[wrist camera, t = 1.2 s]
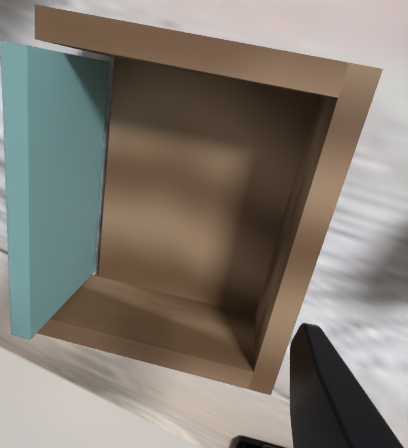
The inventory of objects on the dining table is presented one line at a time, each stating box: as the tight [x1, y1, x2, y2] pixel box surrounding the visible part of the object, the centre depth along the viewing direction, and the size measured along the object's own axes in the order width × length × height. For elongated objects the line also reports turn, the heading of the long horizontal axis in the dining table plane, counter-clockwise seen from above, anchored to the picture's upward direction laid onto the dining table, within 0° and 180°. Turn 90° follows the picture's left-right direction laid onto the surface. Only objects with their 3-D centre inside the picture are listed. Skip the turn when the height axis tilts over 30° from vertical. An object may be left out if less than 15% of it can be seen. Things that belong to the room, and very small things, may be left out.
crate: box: [35, 5, 383, 395], centre depth 19 cm, size 16×13×6 cm
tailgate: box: [0, 40, 109, 340], centre depth 18 cm, size 13×1×7 cm, turn 170°
